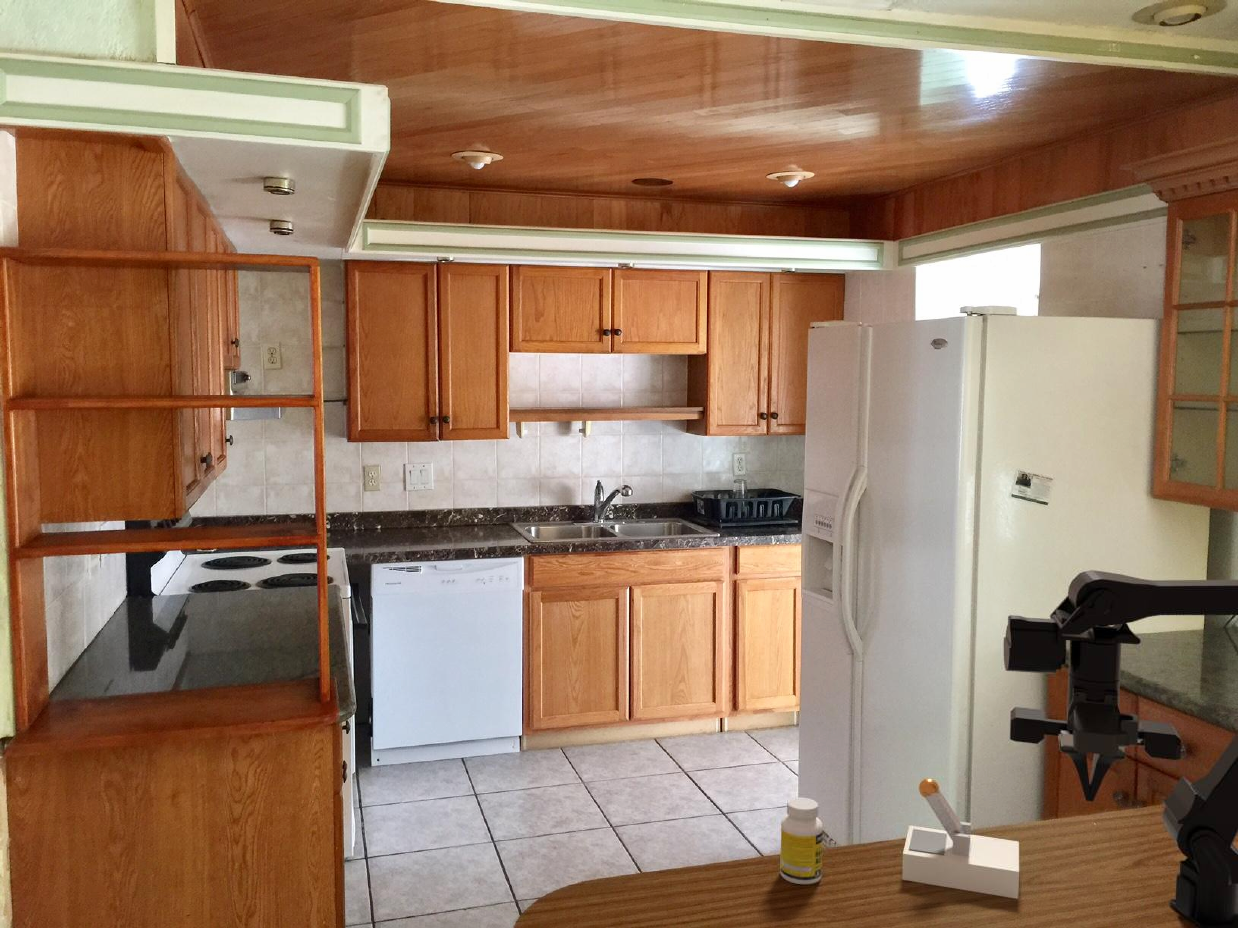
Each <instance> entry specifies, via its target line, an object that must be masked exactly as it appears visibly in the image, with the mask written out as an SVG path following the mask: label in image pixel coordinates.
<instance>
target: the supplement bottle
mask: <svg viewBox="0 0 1238 928" xmlns="http://www.w3.org/2000/svg"><path fill="white" fill-rule="evenodd" d="M786 814H787V815H785V816H784V817H782V820H781V823H780V825H781V826H780V856H779V857H780V862H779V865H780V866H779V867H780V868H779V872H780V875H781V877H782V878H783V879H784V880H785V881H786V882H789V883H792V884H798V885H811V884H812V885H813V884H816V883H817V882H819V881H820V880H821V879H822V875H823V873H822V872H823V842H824V841H823V837H824V826H823V825H824V824H823V823H822V820H821V819H820V818H818V815H819V803H818V802H817V801H816V800H814V799H812V798H809V797H793V798H790V799H789V800H787V803H786Z"/></svg>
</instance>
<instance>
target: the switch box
mask: <svg viewBox="0 0 1238 928" xmlns="http://www.w3.org/2000/svg"><path fill="white" fill-rule="evenodd" d="M960 823H961V824H962V826H963V827H964V833H965V834H960V833H953V841H952V840H951V838H950V836H949V835H948V833H947V832H946V830H945V829H944V830H942V829H936V828H929V827H922V826H915V825H909V826H908V830H907V835H906V839H905V844H904V848H903V851H902V881H908V882H910V881H911V882H915V883H920V884H925V885H926V884H927V885H933V886H938V887H939V886H940V887H945V888H951V889H957V890H963V891H970V892H975V893H982V894H986V895H987V894H988V895H994V896H997V897H998V896H999V897H1004V898H1010V899H1011V898H1012V899H1016V900H1019V888H1020V887H1019V885H1020V883H1019V882H1020V879H1019V878H1020V856H1019V855H1020V849H1019V847H1020V845H1019V844H1020V842H1019V841H1017V840H1010V839H1006V838H1005V839H1003V838H996V837H991V836H990V837H989V836H983V835H978V834H971V828H972V827H971V826H972V823H971V822H966V821H960Z"/></svg>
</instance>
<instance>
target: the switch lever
mask: <svg viewBox="0 0 1238 928" xmlns="http://www.w3.org/2000/svg"><path fill="white" fill-rule="evenodd" d="M918 791H919V793H920V795H921V796H922V797H923V798H924V799H925V800H926V802H927V803H928V805H929V806H930V808H931V810H932V812H933V813H934V814H935V816H936V817H937V819H938V820H939V823H940V824H941V825H942V827H943V829H944V831H946V832H947V833H948V835H949V836H950V838H951V840H952V841H953V833H960V834H965V833H964V827H963V826H962V824H961V823H960V822H961V820H959V818H958V817H957V815H956V814H955V812H954V811H953V809H952V807H951V806H950V804H949V802H948V801H947V799H946V797H944V795H943V793H942V792H941V789H940V787H939V783H938V782H937V781H936V780H934V779H933V778H925V779H922V780H921V782H920V783H919V785H918Z"/></svg>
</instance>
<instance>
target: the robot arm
mask: <svg viewBox="0 0 1238 928" xmlns="http://www.w3.org/2000/svg"><path fill="white" fill-rule="evenodd" d="M1158 616H1238V579H1176V580H1174V579H1172V580H1171V579H1167V580H1165V579H1163V580H1158V579H1155V580H1152V579H1144V578H1139V577H1135V576H1130V575H1125V574H1121V573H1115V572H1107V571H1103V570H1101V571H1100V570H1092V569H1091V570H1086V571H1085V570H1084V571H1081V572H1079V573H1078V574H1077V575H1076V576H1075V577H1074V578H1073V579H1072V581H1071V582H1070V584H1069V586H1068V590H1067V596H1066V597H1065V598H1064V599H1063V600H1062V601H1061V602H1060V603H1059V605H1057V606H1056V608H1055V609H1054V610H1053V611H1052V612H1051V614H1050V615H1049V618H1039V617H1025V616H1021V615H1015V614H1013V615H1011V614H1010V615H1008V616H1007V625H1006V628H1005V630H1006V631H1005V636H1004V637H1003V662H1004V669H1005V671H1006V672H1016V673H1017V672H1018V673H1019V672H1020V673H1032V674H1033V673H1036V674H1048V675H1051V674H1052V675H1055V674H1056V672H1057V670H1058V671H1061V670H1062V667H1065V665H1066V663H1067V662H1066V661H1067V641H1069V653H1068V654H1069V655H1068V676H1067V677H1068V679H1067V681H1068V682H1067V683H1068V684H1067V705H1066V708H1067V709H1066V720H1064V719H1063V720H1062V719H1051V718H1045V710H1044V709H1040V708H1039V709H1038V708H1030V707H1019V706H1015V707H1013V708H1012V710H1010V718H1009V719H1010V721H1009V740H1011V741H1013V742H1017V743H1027V744H1033V745H1034V744H1036V745H1038V744H1040V742H1043V740H1044V739H1045V735H1048V736H1055V737H1056V736H1057V738H1058V739H1057V740H1058V748H1059V751H1060V752H1061V753H1063V754H1067V755H1069V756H1070V759H1071V760H1072V763H1073V765H1074V767H1075V768H1076V772H1077V774H1078V777H1079V781H1080V785H1081V788H1082V793H1083V795H1084V799H1085V801H1086V802H1090V803H1091V802H1092V803H1093V802H1094V801H1095V799H1096V797H1097V794H1098V791H1099V789H1100V787H1101V785H1102V782H1103V781H1104V778H1105V776H1106V775H1107V772H1108V771H1109V769H1110V767H1111V766H1112V765H1113V764H1114V763H1115V762H1116V761H1124V760H1126V758H1127V753H1126V750H1125V748H1126V747H1129V748H1130V746H1143V749H1144V750H1143V751H1145V752H1146V753H1147V755H1148V756H1149V757H1151V758H1155V759H1162V760H1171V761H1172V760H1173V761H1177V760H1181V758H1182V757H1181V756H1182V742H1181V737H1180V735H1179V733H1178V731H1177V728H1176V727H1174V725H1173V724H1172V723H1170V722H1162V721H1152V720H1151V721H1150V720H1144V719H1143V720H1142V719H1140V720H1139V717H1138V714H1133V713H1124V712H1123V713H1122V712H1121V711H1120V691H1121V690H1120V685H1121V665H1122V664H1121V663H1122V644H1124V645H1125V644H1126V645H1139V644H1141V643H1142V641H1141V638H1139V637H1138V636H1137V635H1136V634H1135V633H1134V632H1133V631H1132V630H1131V628H1130V627H1129V624H1130V623H1134V622H1138V621H1140V620H1144V619H1147V618H1151V617H1152V618H1153V617H1158ZM1088 754H1093V758H1092V759H1093V760H1092V765H1091V771H1090V778H1089V767H1088V760H1087V759H1088V757H1087V755H1088ZM1162 803H1163V804H1164V805H1165V808H1164V809H1163V811H1162V821H1163V826H1164V827H1165V829H1166V831H1167V832H1168V834H1169V836H1170V837H1171V838H1172V840H1173V841H1174V842H1175V844H1176V846H1177V848H1178V850H1180V852H1181V853H1182V855H1183V856H1185V857H1186V858H1185V860H1180V861H1179V874H1176V882H1175V898H1170V899H1169V904H1170V906H1172V907H1174V909H1176V910H1177V911H1179V913H1181V914H1182V915H1184V916H1185V917H1186V918H1187V919H1189V920H1190V921H1191V922H1192V923H1194V924H1195V925H1196V926H1198V927H1199V928H1238V848H1237V847H1236V846H1235V844H1234V842H1235V839H1236V837H1237V835H1238V732H1237V733H1236V734H1235V736H1234V737H1233V738H1232V739H1231V741H1230V743H1229V744H1228V745H1227V747H1226V748H1225V750H1224V751H1223V753H1221V755H1220V756H1219V758H1218V759H1217V760H1216V762H1215V763H1214V765H1213V766H1212V767H1211V769H1210V770H1209V772H1208V773H1207V774H1206V775H1205V776H1203V777H1201V778H1199V779H1198V780H1196V781H1194V782H1191V781H1189V780H1188V779H1187V778H1186V777H1185V776H1181V777H1180V778H1179V779H1178V780H1177V783H1176V785H1175V787H1174V789H1173V791H1172V792H1171V793H1170V794H1169V795H1168V796H1167V797H1165V798H1163V799H1162Z"/></svg>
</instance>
